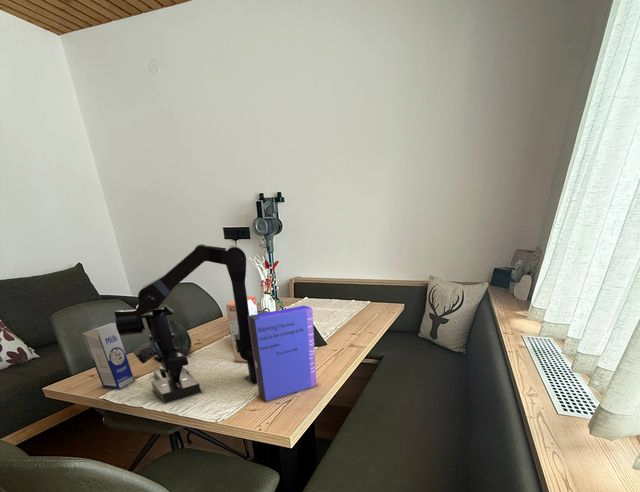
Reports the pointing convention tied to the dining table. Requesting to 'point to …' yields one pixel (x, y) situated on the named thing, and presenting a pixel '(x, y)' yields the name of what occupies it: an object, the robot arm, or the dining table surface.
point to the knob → (170, 378)
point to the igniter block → (161, 372)
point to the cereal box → (283, 351)
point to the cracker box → (234, 323)
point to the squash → (180, 338)
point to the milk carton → (108, 356)
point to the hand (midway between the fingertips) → (174, 381)
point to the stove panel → (176, 388)
